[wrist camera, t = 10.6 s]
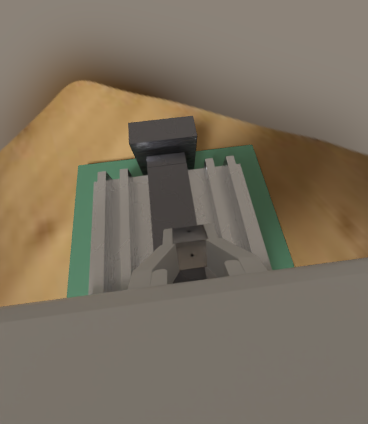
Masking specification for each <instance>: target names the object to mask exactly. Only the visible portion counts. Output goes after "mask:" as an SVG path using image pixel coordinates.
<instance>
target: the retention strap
mask: <svg viewBox="0 0 368 424" xmlns="http://www.w3.org/2000/svg"><path fill="white" fill-rule="evenodd" d="M147 171H148V185H149V198H150V211H151V225H152V238H153V251H155V250H156V249H157V248H158V247H159V246H160V245H162V244H163V230H164V229H169V228H179V227H188V226H196V225H197V220H196V215H195V209H194V203H193V197H192V192H191V186H190V180H189V174H188V169H187V163H186V158H185V152H182V153H173V154H165V155H157V156H148V157H147ZM204 279H207V278H206V272H205V267H199V268H191V269H185V270H180V271H179V273H178V275H177V277H176V278H175V280H174V282H173V284H174V283H181V282H189V281H196V280H204Z"/></svg>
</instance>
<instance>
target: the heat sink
mask: <svg viewBox="0 0 368 424" xmlns="http://www.w3.org/2000/svg"><path fill="white" fill-rule="evenodd" d="M128 127H129V145H130V147H131V149H132V151H133V154H134V156H135V158H136V160H137V163H138V165H139V167H140V169H141V172H142V174H143V176H137V177H132V175H131V173H130V172H129V170H128V168H127V169H120V179H112V178H111V177H110V176H109V174H108V173H107V172H106V171H103V172H98V177H97V182H94V190H93V210H92V230H91V250H90V271H89V291H88V295H92V294H99V293H107V292H114V291H122V290H127V289H128V285H129V282H130V278H131V275H132V272H133V271H134V270H135V269H136V268H137V267H138V266H139V265H140V264H141V263H142V262H143V261H144V260H145V259H147V258H148V257H149V256H150V255H151V254H152V253H153V252H154V251H153V238H152V225H151V211H150V198H149V185H148V171H147V157H148V156H157V155H165V154H173V153H182V152H185V158H186V163H187V169H188V174H189V180H190V186H191V192H192V197H193V203H194V209H195V215H196V220H197V225H202V224H209V223H212V225H213V227H214V229H215V231H216V233H217V235H218V237H219V238H223V239H225V240H227V241H229V242H231V243H233V244H235V245H237V246H239V247H241V248H243V249H245V250H247V251H249V252H251V253H252V254H254V255H256V256H258V257H259V259H260V260H261V262H262V263H263V265H264V266H265V267H266V269H267V270H268V271H270V270H272V268H271V264H270V261H269V258H268V254H267V251H266V248H265V245H264V241H263V238H262V235H261V231H260V228H259V225H258V221H257V218H256V215H255V211H254V208H253V205H252V201H251V198H250V195H249V191H248V188H247V185H246V181H245V178H244V175H243V172H242V168H241V165H240V164H236V162H235V159H234V156H226V157H225V160H224V163H223V166H217V167H215V165H214V161H213V158H209V159H205V161H204V167H203V168H201V169H194V166H195V154H196V143H197V133H196V128H195V124H194V119H193V116H187V117H178V118H169V119H160V120H151V121H142V122H134V123H128ZM205 272H206V278H207V279H211V278H218V277H217V276H216V275H215V274H214V273H213V272H212V271H211V270H210V269H209V268H208V267H205Z"/></svg>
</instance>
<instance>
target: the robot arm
mask: <svg viewBox="0 0 368 424" xmlns="http://www.w3.org/2000/svg"><path fill="white" fill-rule="evenodd" d="M199 267H208V268H209V269H210V270H211V271H212V272H213V273H214V274H215V275H216V276H217V277H218V278H211V279H204V280H196V281H189V282H181V283H174V284H173V282H174V280H175V278H176V277H177V275H178V273H179V271H180V270H185V269H191V268H199ZM0 424H368V257H367V258H360V259H352V260H345V261H337V262H330V263H322V264H315V265H308V266H300V267H293V268H285V269H278V270H270V271H268V270H267V269H266V267H265V266H264V265H263V263H262V262H261V260H260V259H259V257H258V256H256V255H254V254H252V253H251V252H249V251H247V250H245V249H243V248H241V247H239V246H237V245H235V244H233V243H231V242H229V241H227V240H225V239H223V238H219V237H218V235H217V233H216V231H215V229H214V227H213V225H212V223H209V224H202V225H196V226H188V227H179V228H169V229H164V230H163V244H162V245H160V246H159V247H158V248H157V249H156V250H155V251H154V252H153V253H152V254H151V255H150V256H149V257H148V258H147V259H145V260H144V261H143V262H142V263H141V264H140V265H139V266H138V267H137V268H136V269H135V270H134V271H133V272H132V275H131V278H130V282H129V285H128V289H127V290H122V291H114V292H107V293H99V294H92V295H85V296H77V297H70V298H62V299H55V300H47V301H40V302H33V303H25V304H18V305H10V306H3V307H0Z"/></svg>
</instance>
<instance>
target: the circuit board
mask: <svg viewBox="0 0 368 424" xmlns="http://www.w3.org/2000/svg"><path fill="white" fill-rule="evenodd" d="M226 156H234V159H235V162H236V164H240V165H241V168H242V172H243V175H244V178H245V181H246V185H247V188H248V191H249V195H250V198H251V201H252V205H253V208H254V211H255V215H256V218H257V221H258V225H259V228H260V231H261V235H262V238H263V241H264V245H265V248H266V251H267V254H268V258H269V261H270V264H271V268H272V270H278V269H285V268H293V267H294V264H293V261H292V258H291V256H290V253H289V250H288V247H287V244H286V241H285V238H284V235H283V232H282V230H281V227H280V224H279V221H278V218H277V215H276V212H275V209H274V206H273V204H272V201H271V198H270V195H269V192H268V189H267V186H266V183H265V180H264V178H263V175H262V172H261V169H260V166H259V163H258V160H257V157H256V154H255V152H254V149H253V146H252V145H245V146H237V147H228V148H220V149H212V150H204V151H196V154H195V166H194V169H201V168H203V167H204V161H205V159H209V158H213V161H214V165H215V167H217V166H223V163H224V160H225V157H226ZM127 168H128V170H129V172H130V173H131V175H132V177H137V176H143V174H142V172H141V169H140V167H139V165H138V163H137V160H136V159H129V160H121V161H112V162H104V163H96V164H88V165H79V166H78V176H77V187H76V198H75V210H74V221H73V232H72V244H71V255H70V266H69V278H68V289H67V298H70V297H77V296H85V295H88V291H89V271H90V250H91V230H92V210H93V190H94V182H97V177H98V172H103V171H106V172H107V173H108V174H109V176H110V177H111V178H112V179H120V169H127Z"/></svg>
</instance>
